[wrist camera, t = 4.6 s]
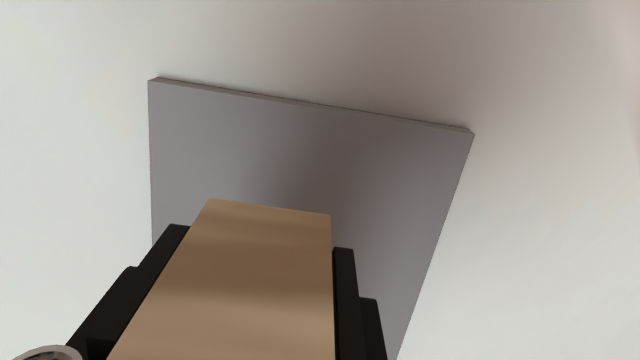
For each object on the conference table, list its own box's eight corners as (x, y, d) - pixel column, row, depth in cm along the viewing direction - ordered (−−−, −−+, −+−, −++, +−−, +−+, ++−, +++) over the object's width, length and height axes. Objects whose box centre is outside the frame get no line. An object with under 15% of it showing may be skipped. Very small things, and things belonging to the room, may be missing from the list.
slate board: (156, 77, 18) (147, 80, 17) (467, 128, 19) (475, 134, 18) (163, 429, 29) (158, 443, 29) (358, 451, 30) (359, 465, 29)
